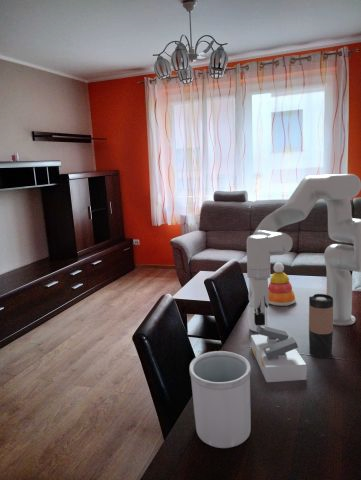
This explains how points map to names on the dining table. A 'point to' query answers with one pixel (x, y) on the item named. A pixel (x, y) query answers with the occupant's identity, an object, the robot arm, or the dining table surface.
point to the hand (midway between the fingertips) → (259, 324)
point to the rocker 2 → (280, 348)
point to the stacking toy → (280, 288)
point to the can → (251, 318)
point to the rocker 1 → (272, 332)
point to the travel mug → (320, 325)
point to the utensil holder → (221, 398)
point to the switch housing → (278, 361)
